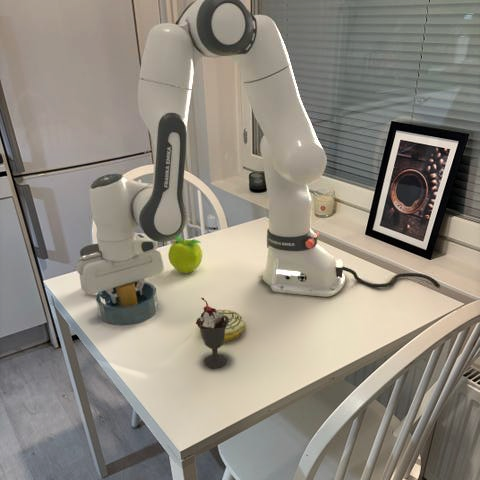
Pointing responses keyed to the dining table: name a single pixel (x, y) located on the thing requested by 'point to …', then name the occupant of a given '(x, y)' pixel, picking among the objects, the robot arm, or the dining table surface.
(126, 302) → the candle
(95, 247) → the jar
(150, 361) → the dining table surface
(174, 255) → the fruit
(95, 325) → the dining table surface
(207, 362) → the sundae
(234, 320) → the decorated donut
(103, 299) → the bowl
